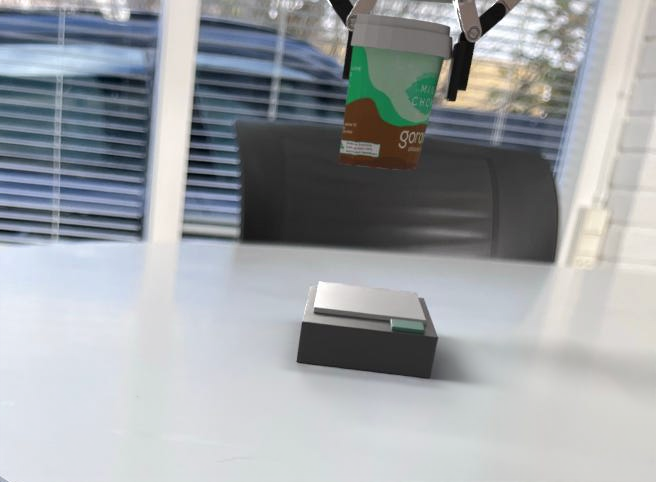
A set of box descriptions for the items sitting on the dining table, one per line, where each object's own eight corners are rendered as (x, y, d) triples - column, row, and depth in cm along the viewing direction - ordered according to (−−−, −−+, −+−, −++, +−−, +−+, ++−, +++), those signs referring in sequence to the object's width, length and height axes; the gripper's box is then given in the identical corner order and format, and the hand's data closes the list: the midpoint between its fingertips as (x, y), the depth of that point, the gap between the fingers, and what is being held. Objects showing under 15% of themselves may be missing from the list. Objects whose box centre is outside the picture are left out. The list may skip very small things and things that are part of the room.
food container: (411, 173, 79) (439, 19, 74) (332, 163, 81) (355, 12, 76) (445, 170, 89) (471, 34, 84) (374, 161, 91) (396, 27, 86)
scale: (417, 332, 94) (424, 293, 93) (430, 378, 79) (439, 331, 77) (306, 319, 95) (311, 280, 94) (296, 362, 80) (302, 315, 78)
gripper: (564, -167, 77) (508, 107, 85) (326, -184, 78) (293, 86, 87) (584, -193, 70) (521, 107, 78) (323, -211, 72) (288, 85, 80)
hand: (401, 94), depth 82 cm, fingers closed on food container, 6 cm apart
